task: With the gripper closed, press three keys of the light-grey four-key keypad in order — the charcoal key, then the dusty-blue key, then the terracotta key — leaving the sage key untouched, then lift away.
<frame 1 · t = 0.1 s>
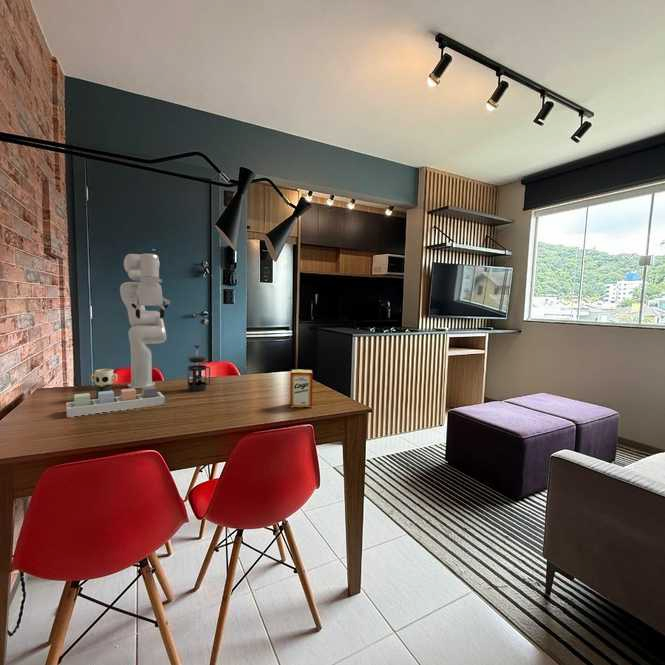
hand: (150, 318, 163), 37 cm above the table, tool pointing down, fingers open, 9 cm apart
key sage: (82, 400, 139), point 5 cm above the table, slide at 0.0 cm
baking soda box: (300, 406, 157), on the table
key blue: (106, 397, 144), point 5 cm above the table, slide at 0.0 cm
key terracotta: (128, 394, 149), point 5 cm above the table, slide at 0.0 cm
character mug: (104, 398, 160), on the table
keypad housing: (117, 407, 147), on the table
key charcoal: (149, 392, 154), point 5 cm above the table, slide at 0.0 cm
french press: (198, 390, 180), on the table
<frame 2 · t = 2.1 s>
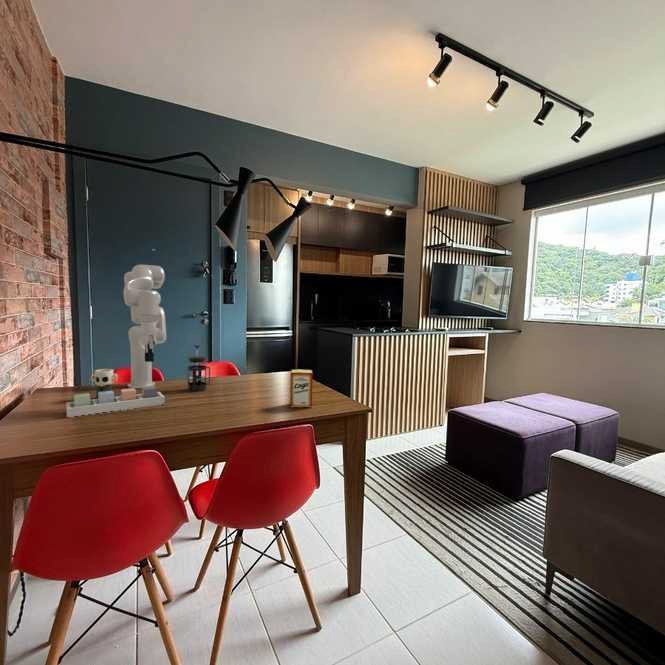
hand: (149, 361, 152), 19 cm above the table, tool pointing down, fingers closed
nothing on the table moved.
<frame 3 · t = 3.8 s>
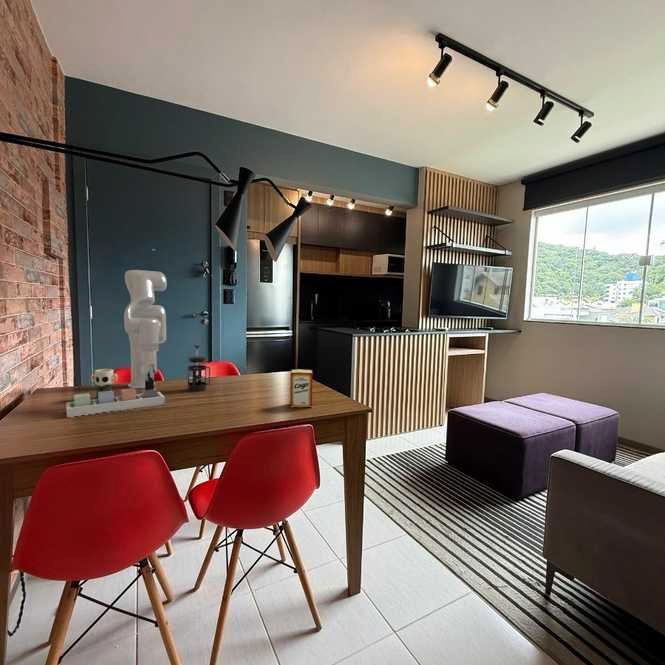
hand: (149, 389, 153), 6 cm above the table, tool pointing down, fingers closed
key charcoal: (149, 393, 154), point 4 cm above the table, slide at 0.7 cm, touching gripper
everything else where it was.
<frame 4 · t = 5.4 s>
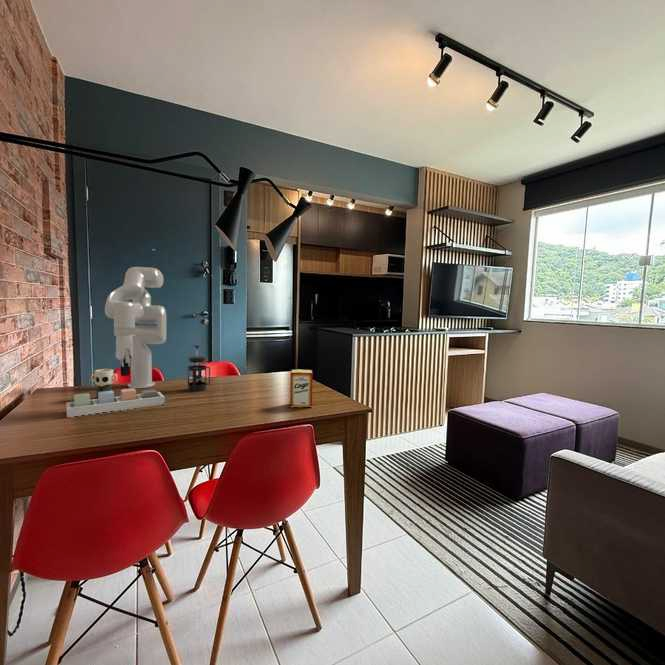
hand: (125, 375, 147), 13 cm above the table, tool pointing down, fingers closed
key charcoal: (149, 395, 154), point 3 cm above the table, slide at 1.6 cm
everything else where it was.
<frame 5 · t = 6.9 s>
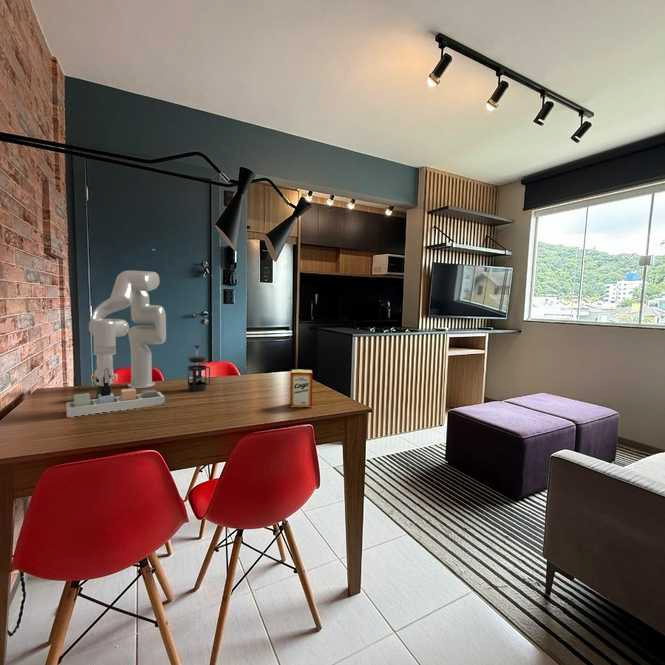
hand: (105, 395, 143), 6 cm above the table, tool pointing down, fingers closed
key blue: (106, 399, 144), point 4 cm above the table, slide at 1.1 cm, touching gripper
everything else where it was.
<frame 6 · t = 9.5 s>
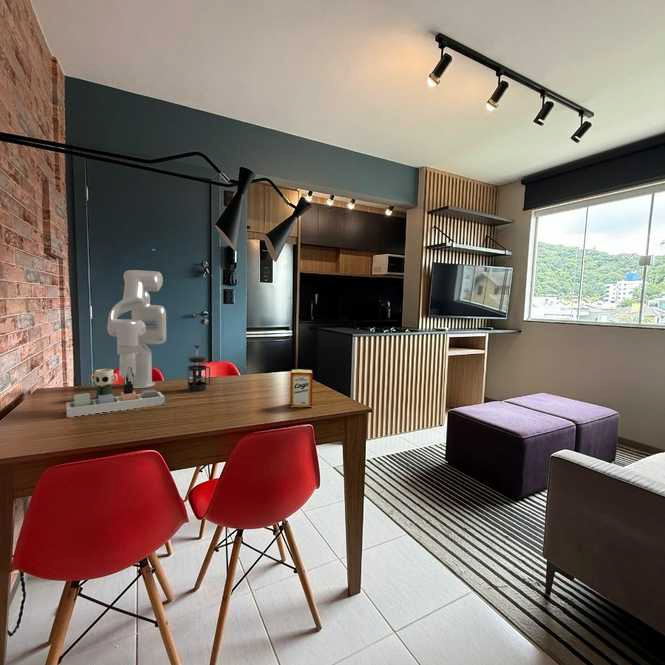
hand: (128, 393, 148), 6 cm above the table, tool pointing down, fingers closed
key blue: (106, 400, 144), point 3 cm above the table, slide at 1.6 cm
key terracotta: (128, 397, 149), point 4 cm above the table, slide at 1.4 cm, touching gripper
everything else where it was.
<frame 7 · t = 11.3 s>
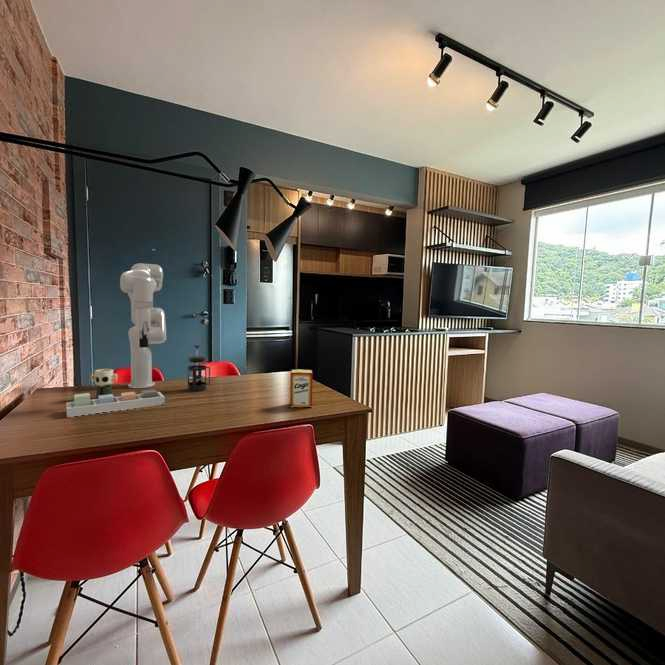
hand: (143, 347, 155), 24 cm above the table, tool pointing down, fingers closed
key terracotta: (128, 398, 149), point 3 cm above the table, slide at 1.6 cm
everything else where it was.
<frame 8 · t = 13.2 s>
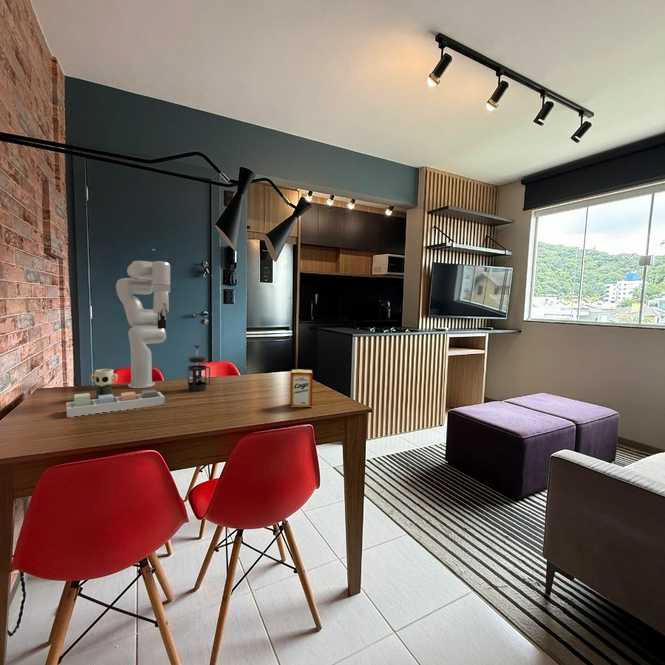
hand: (161, 328, 163), 32 cm above the table, tool pointing down, fingers closed
nothing on the table moved.
at the end: key blue slide at 1.6 cm; key terracotta slide at 1.6 cm; key sage slide at 0.0 cm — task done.
